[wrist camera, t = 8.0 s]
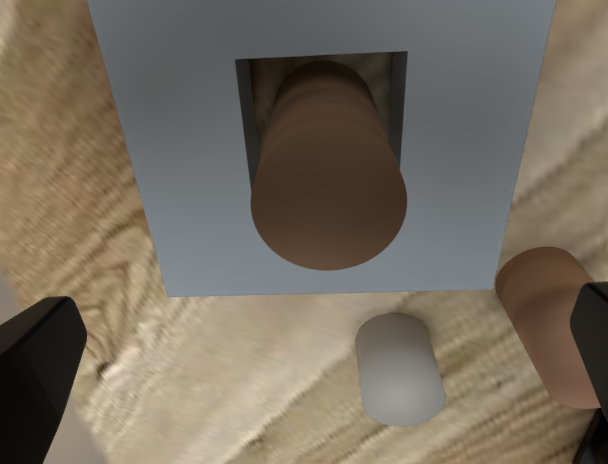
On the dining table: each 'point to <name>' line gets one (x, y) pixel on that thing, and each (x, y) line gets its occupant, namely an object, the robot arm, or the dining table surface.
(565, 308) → the medium dowel
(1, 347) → the robot arm
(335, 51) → the grey square frame
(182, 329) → the dining table surface
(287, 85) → the long dowel
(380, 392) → the short dowel
